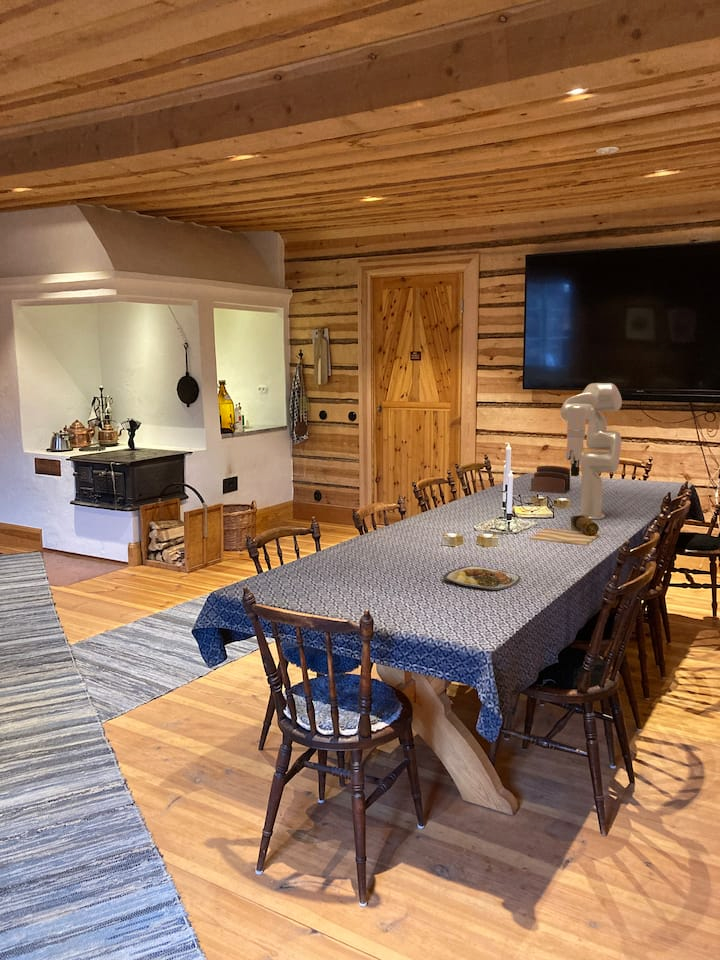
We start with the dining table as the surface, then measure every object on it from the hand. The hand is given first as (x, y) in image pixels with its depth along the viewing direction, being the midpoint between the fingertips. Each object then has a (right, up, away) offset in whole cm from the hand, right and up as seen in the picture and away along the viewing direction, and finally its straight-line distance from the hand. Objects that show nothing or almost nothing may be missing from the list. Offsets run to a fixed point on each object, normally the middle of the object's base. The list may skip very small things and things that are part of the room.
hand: (574, 475), depth 337 cm
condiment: (+3, -21, +3) cm, 21 cm away
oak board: (-6, -27, -6) cm, 28 cm away
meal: (-50, -38, -64) cm, 90 cm away
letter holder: (+15, -9, +105) cm, 106 cm away
